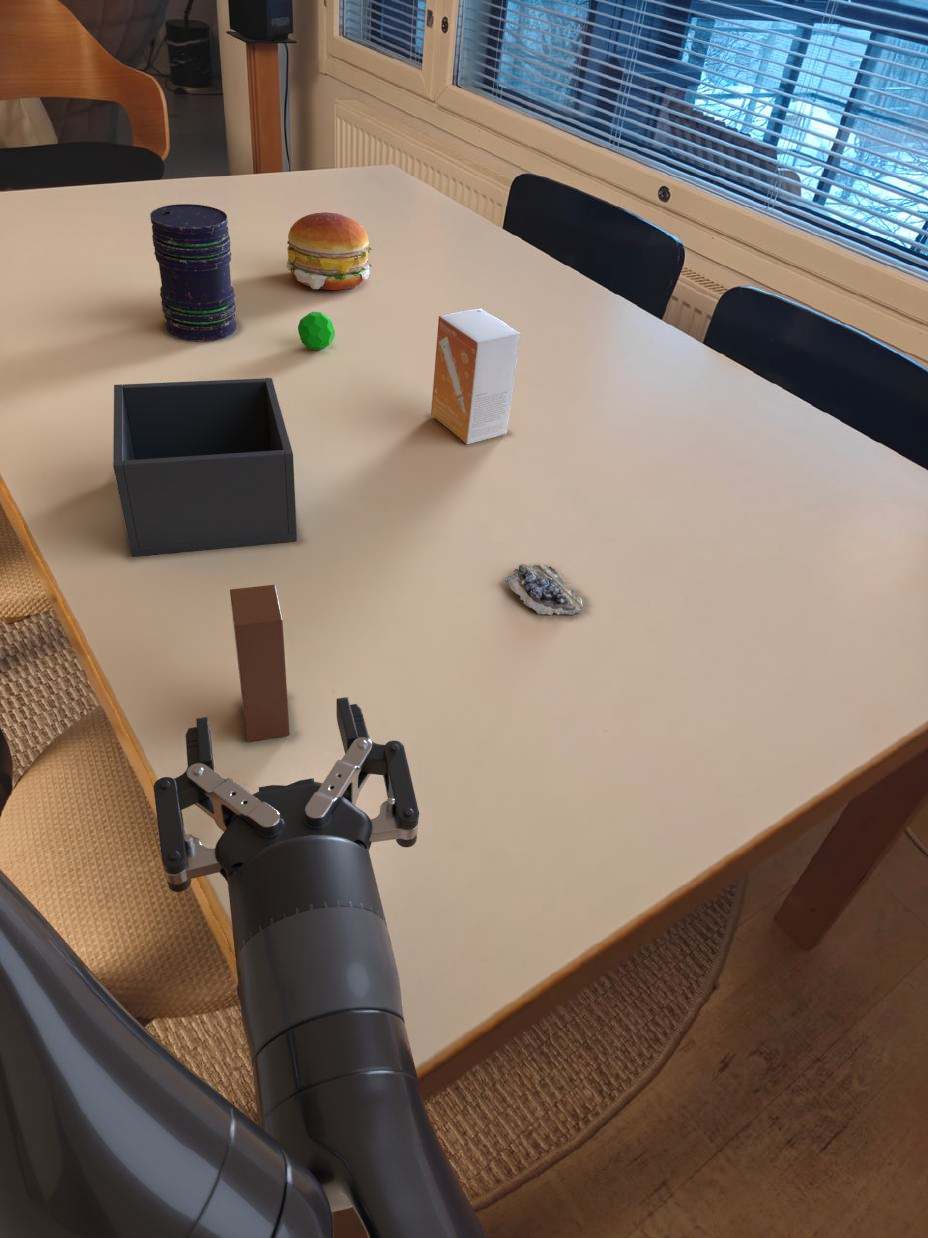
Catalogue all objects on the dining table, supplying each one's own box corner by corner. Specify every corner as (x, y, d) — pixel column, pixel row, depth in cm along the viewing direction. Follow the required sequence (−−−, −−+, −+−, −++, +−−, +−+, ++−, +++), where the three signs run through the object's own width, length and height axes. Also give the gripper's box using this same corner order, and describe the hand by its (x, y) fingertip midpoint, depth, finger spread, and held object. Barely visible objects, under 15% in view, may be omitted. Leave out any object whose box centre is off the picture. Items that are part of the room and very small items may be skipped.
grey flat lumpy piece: (529, 560, 87) (532, 545, 86) (598, 593, 84) (602, 578, 83) (493, 592, 83) (495, 576, 81) (564, 628, 79) (568, 613, 78)
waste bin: (131, 557, 82) (113, 465, 75) (130, 470, 93) (114, 384, 86) (297, 541, 86) (293, 453, 79) (276, 460, 97) (272, 377, 90)
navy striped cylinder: (246, 318, 125) (238, 209, 115) (225, 345, 118) (214, 231, 108) (178, 309, 125) (164, 199, 116) (153, 336, 118) (136, 221, 108)
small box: (429, 416, 108) (437, 314, 99) (470, 406, 111) (481, 306, 102) (466, 445, 103) (477, 341, 95) (508, 434, 106) (522, 332, 98)
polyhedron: (296, 340, 121) (294, 307, 118) (330, 339, 122) (330, 306, 119) (302, 356, 117) (301, 321, 114) (337, 354, 119) (337, 320, 116)
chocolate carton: (247, 742, 66) (234, 625, 58) (242, 705, 69) (229, 588, 61) (289, 736, 67) (282, 620, 59) (282, 699, 70) (275, 583, 62)
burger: (381, 274, 143) (383, 211, 137) (353, 302, 133) (354, 235, 127) (305, 260, 145) (303, 197, 139) (272, 287, 135) (269, 220, 129)
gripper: (459, 884, 42) (386, 657, 53) (151, 949, 38) (144, 690, 49) (447, 960, 47) (383, 737, 58) (173, 1025, 43) (162, 773, 54)
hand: (273, 716), depth 54 cm, fingers open, 8 cm apart
